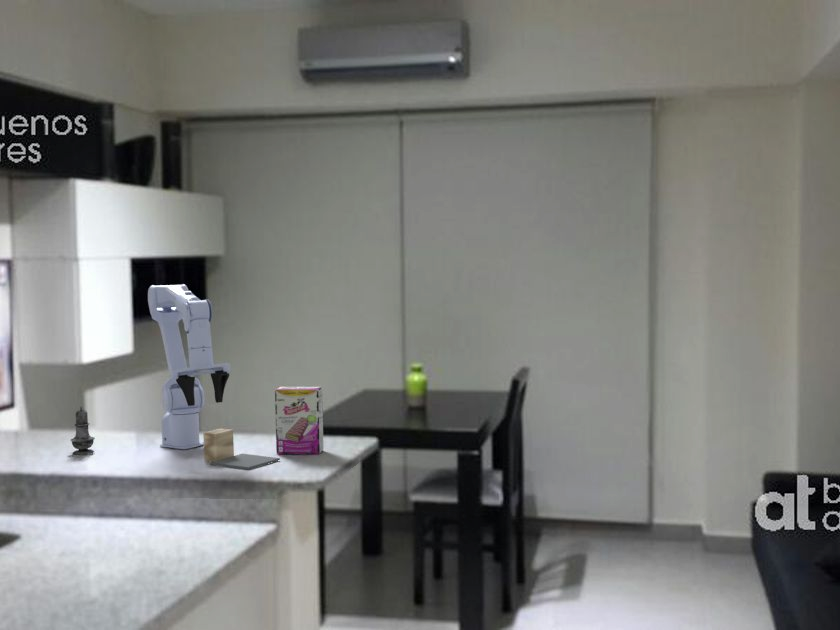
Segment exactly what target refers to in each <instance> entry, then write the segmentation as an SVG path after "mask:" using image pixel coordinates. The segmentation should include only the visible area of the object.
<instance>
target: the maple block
mask: <svg viewBox="0 0 840 630" xmlns="http://www.w3.org/2000/svg"><path fill="white" fill-rule="evenodd" d="M202 434H203V442H204V445H203V458H204V462H209V463H210V462H213V461H217V460H221V459H224V458H228V457H232V456H235V449H234V447H235V446H234V443H235V442H234V429H229V428H217V429H213V430H209V431H204V432H203V433H202Z"/></svg>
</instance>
